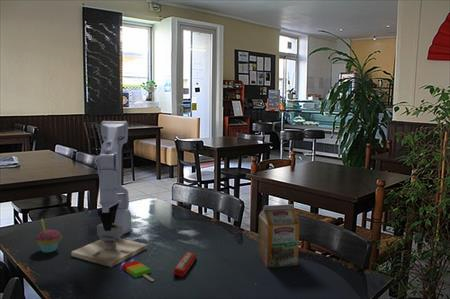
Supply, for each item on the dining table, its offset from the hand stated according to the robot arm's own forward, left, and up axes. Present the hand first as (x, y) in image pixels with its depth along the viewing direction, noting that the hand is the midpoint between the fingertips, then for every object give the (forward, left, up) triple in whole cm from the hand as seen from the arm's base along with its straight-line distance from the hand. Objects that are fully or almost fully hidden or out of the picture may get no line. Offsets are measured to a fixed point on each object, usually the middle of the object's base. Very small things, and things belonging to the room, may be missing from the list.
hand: (109, 226), depth 143 cm
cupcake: (+9, -20, -9) cm, 24 cm away
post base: (0, 0, -9) cm, 9 cm away
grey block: (0, 0, -4) cm, 4 cm away
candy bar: (-3, +30, -10) cm, 31 cm away
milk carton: (-23, +53, -9) cm, 59 cm away
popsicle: (+8, +20, -10) cm, 24 cm away
